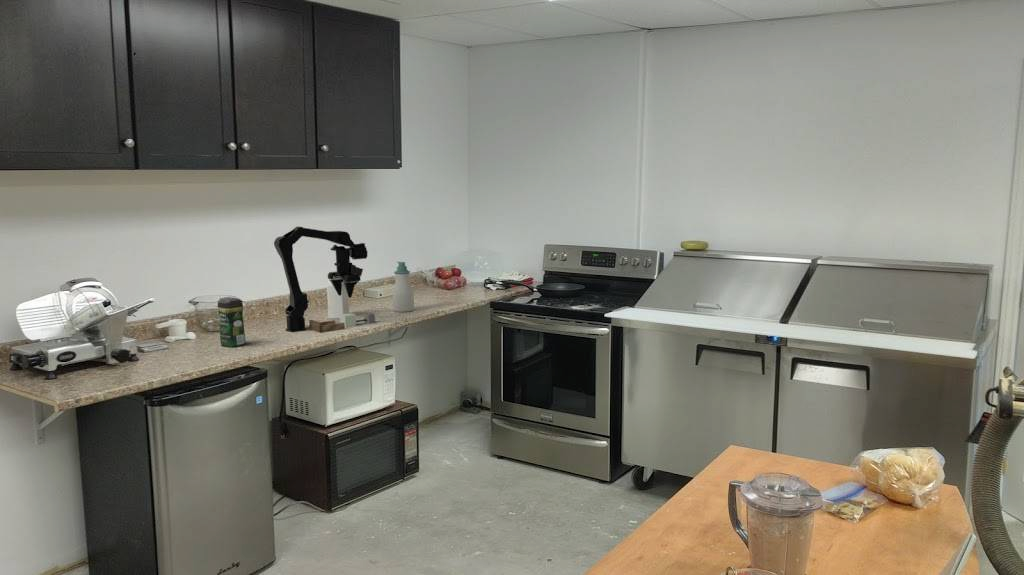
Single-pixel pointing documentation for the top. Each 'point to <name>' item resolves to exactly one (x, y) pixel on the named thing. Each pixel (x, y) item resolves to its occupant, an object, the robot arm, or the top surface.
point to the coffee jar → (231, 322)
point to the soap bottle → (402, 290)
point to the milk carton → (337, 301)
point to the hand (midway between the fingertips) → (344, 296)
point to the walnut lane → (325, 326)
